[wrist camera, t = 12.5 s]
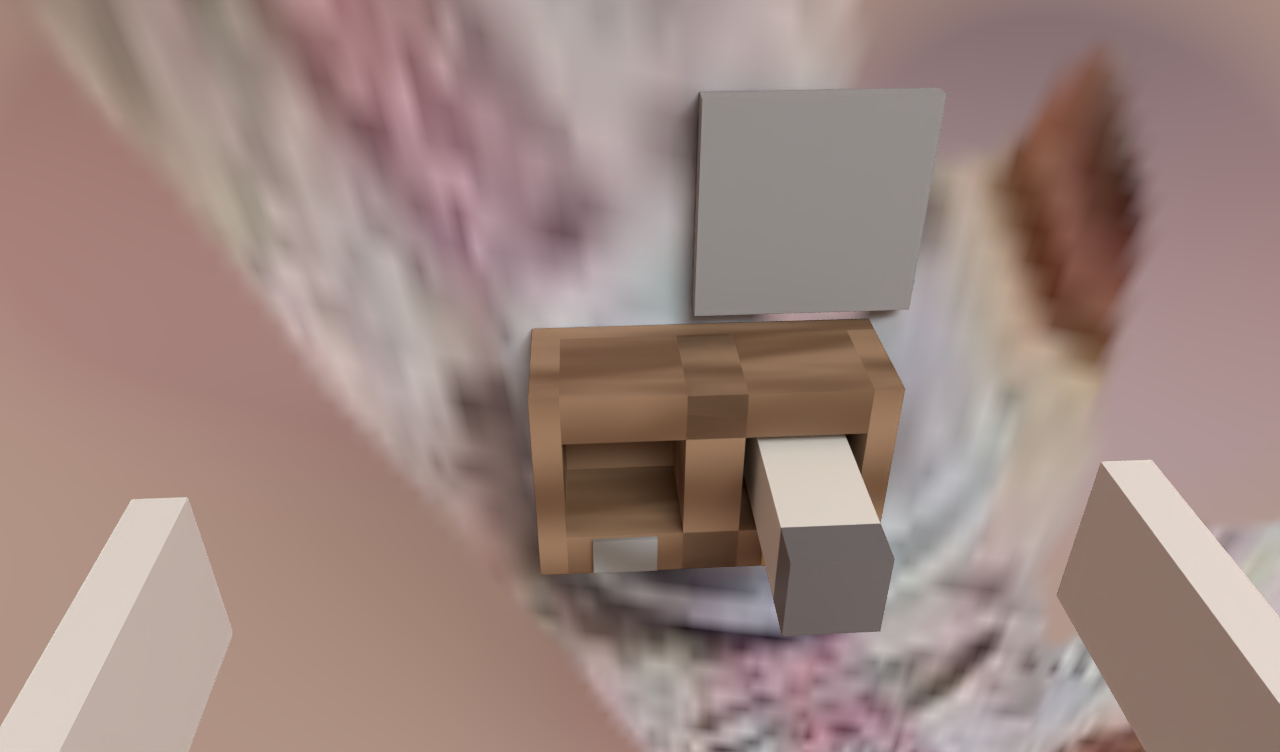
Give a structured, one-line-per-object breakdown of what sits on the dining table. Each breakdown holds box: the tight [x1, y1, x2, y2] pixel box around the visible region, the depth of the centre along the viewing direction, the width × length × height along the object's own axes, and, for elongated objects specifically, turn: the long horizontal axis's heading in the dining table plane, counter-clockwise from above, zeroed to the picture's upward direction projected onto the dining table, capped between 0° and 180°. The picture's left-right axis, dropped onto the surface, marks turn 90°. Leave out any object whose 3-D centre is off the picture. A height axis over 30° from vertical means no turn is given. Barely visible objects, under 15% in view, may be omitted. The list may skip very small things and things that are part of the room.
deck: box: [692, 88, 947, 316], centre depth 42 cm, size 10×10×1 cm
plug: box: [743, 434, 894, 636], centre depth 43 cm, size 4×4×12 cm
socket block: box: [528, 319, 905, 575], centre depth 46 cm, size 10×16×6 cm, turn 90°
